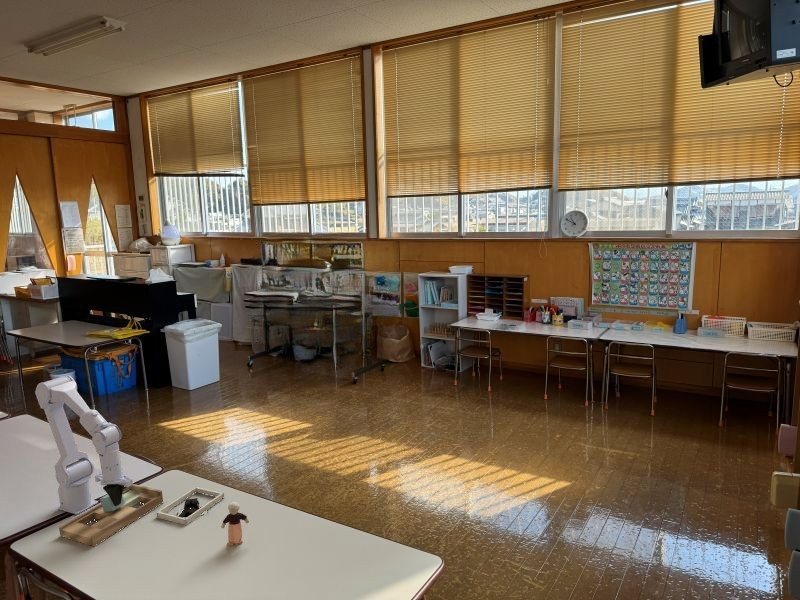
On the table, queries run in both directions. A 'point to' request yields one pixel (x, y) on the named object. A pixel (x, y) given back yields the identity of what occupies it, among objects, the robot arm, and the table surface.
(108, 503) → the teal block
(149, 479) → the table surface
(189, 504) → the black angular piece
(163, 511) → the frame
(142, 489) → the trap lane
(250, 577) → the table surface
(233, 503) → the grandmother figurine
